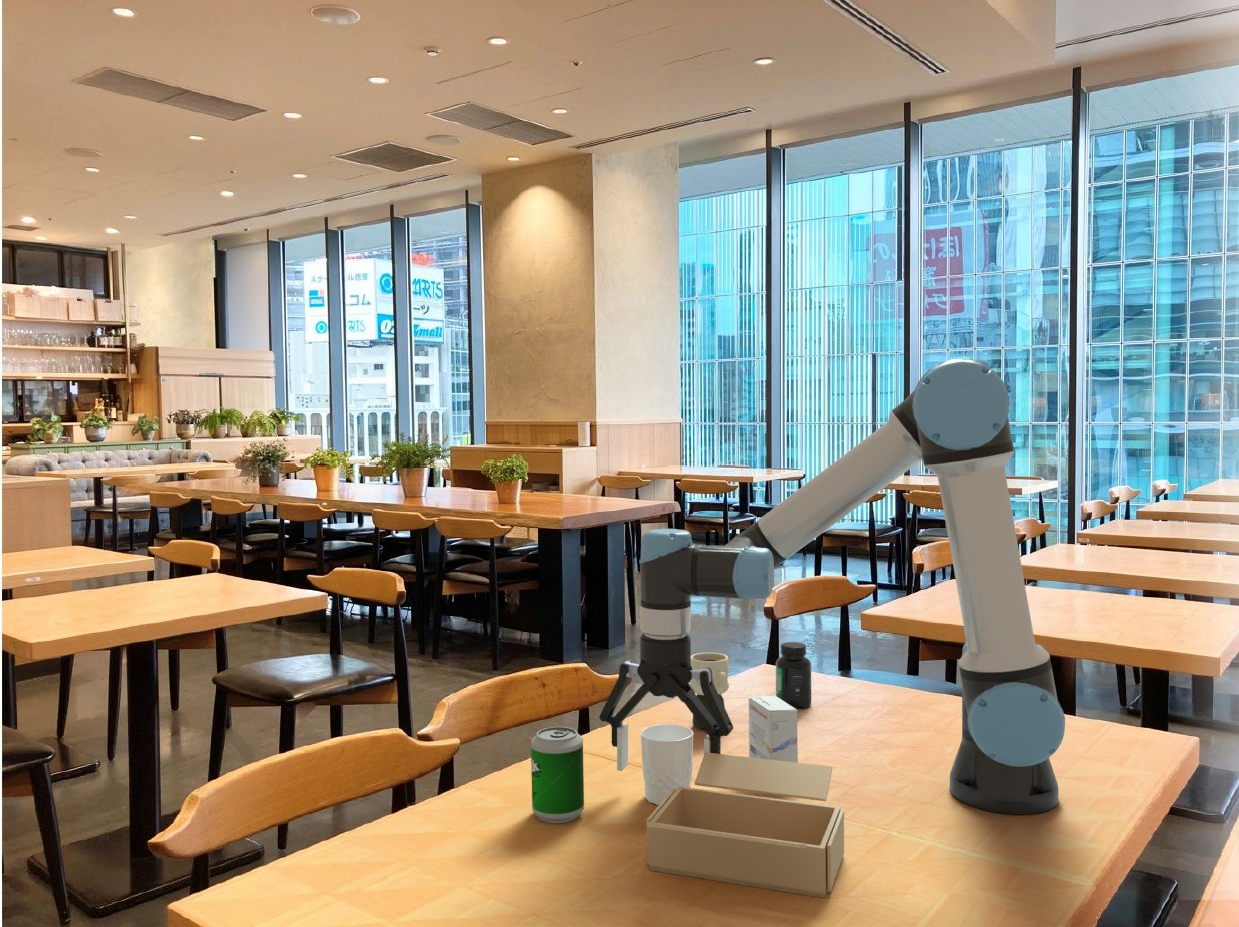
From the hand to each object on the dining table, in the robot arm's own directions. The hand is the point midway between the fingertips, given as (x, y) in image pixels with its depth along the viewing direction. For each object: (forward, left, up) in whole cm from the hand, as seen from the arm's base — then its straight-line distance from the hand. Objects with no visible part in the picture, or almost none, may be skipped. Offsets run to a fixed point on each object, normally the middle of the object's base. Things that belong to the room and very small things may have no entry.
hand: (665, 773), depth 148 cm
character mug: (+3, -34, -4) cm, 34 cm away
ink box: (-13, -14, -4) cm, 20 cm away
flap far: (-16, +9, +3) cm, 19 cm away
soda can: (+13, +11, -4) cm, 17 cm away
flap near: (-16, +23, +3) cm, 29 cm away
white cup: (0, 0, -4) cm, 4 cm away
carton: (-16, +16, -4) cm, 24 cm away
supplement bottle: (-9, -52, -4) cm, 53 cm away
